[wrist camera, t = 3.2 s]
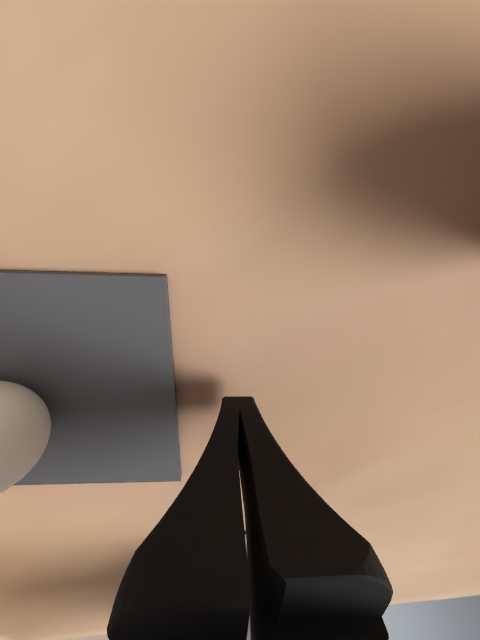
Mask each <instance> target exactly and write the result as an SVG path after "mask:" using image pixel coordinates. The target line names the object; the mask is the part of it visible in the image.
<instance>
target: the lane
mask: <svg viewBox="0 0 480 640" xmlns="http://www.w3.org/2000/svg"><path fill="white" fill-rule="evenodd" d="M0 381H8V382H13V383H16V384H19V385H22V386H24V387H27V388H28V389H30V390H32V391H33V392H35V393H36V394H37V395H38V396H39V397H40V398H41V399H42V400H43V401H44V403H45V405H46V406H47V409H48V411H49V414H50V419H51V431H50V437H49V441H48V443H47V446H46V448H45V450H44V452H43V454H42V456H41V457H40V459H39V460H38V462H37V463H36V464H35V465H34V467H33V468H32V469H31V470H30V471H29V472H28V473H27V474H26V475H25V476H24V477H23V478H22V479H21V480H19V481H18V482H17V483H15V484H14V485H43V484H84V483H124V482H165V481H181V475H182V474H181V460H180V447H179V433H178V419H177V406H176V392H175V379H174V365H173V351H172V338H171V324H170V310H169V297H168V283H167V274H131V273H95V272H58V271H22V270H0Z"/></svg>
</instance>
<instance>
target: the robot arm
mask: <svg viewBox="0 0 480 640" xmlns="http://www.w3.org/2000/svg"><path fill="white" fill-rule="evenodd" d="M238 463H239V464H238ZM239 471H240V478H239ZM240 479H241V486H242V494H243V501H244V510H245V522H246V534H245V532H244V522H243V512H242V501H241V490H240ZM392 595H393V590H392V586H391V584H390V581H389V579H388V577H387V574H386V572H385V570H384V568H383V566H382V564H381V562H380V561H379V559H378V557H377V555H376V553H375V551H374V550H373V548H372V546H371V544H370V543H369V542H368V541H367V540H366V539H365V538H363V537H362V536H361V535H360V534H359V533H358V532H357V531H355V530H354V529H353V528H352V527H351V526H350V525H349V524H348V523H347V522H345V521H344V520H343V519H342V518H341V517H340V516H339V515H338V514H337V513H336V512H335V511H334V510H333V509H332V508H331V507H330V506H329V505H328V504H327V503H326V502H325V501H324V500H323V499H322V498H321V497H320V496H319V495H318V494H317V492H316V491H315V490H314V489H313V488H312V487H311V486H310V485H309V484H308V483H307V482H306V480H305V479H304V478H303V477H302V476H301V474H300V473H299V472H298V471H297V469H296V468H295V467H294V466H293V464H292V463H291V462H290V460H289V459H288V458H287V456H286V455H285V454H284V452H283V451H282V449H281V448H280V446H279V445H278V443H277V442H276V440H275V439H274V437H273V435H272V434H271V432H270V430H269V429H268V427H267V425H266V424H265V422H264V420H263V418H262V416H261V414H260V412H259V410H258V408H257V406H256V403H255V401H254V398H253V397H224V398H222V404H221V409H220V413H219V416H218V419H217V422H216V425H215V427H214V430H213V433H212V435H211V437H210V439H209V442H208V444H207V446H206V448H205V450H204V452H203V454H202V456H201V458H200V460H199V462H198V464H197V466H196V467H195V469H194V471H193V473H192V474H191V476H190V478H189V479H188V481H187V482H186V484H185V486H184V487H183V489H182V490H181V492H180V493H179V495H178V496H177V498H176V499H175V501H174V502H173V503H172V505H171V506H170V508H169V509H168V510H167V512H166V513H165V515H164V516H163V517H162V519H161V520H160V521H159V523H158V524H157V525H156V526H155V528H154V529H153V530H152V531H151V533H150V534H149V535H148V536H147V538H146V539H145V540H144V541H143V542H142V544H141V545H140V546H139V547H138V549H137V550H136V551H135V553H134V555H133V557H132V559H131V561H130V564H129V566H128V568H127V570H126V572H125V574H124V577H123V579H122V581H121V584H120V587H119V589H118V592H117V595H116V598H115V601H114V605H113V608H112V612H111V616H110V619H109V623H108V626H107V635H108V638H109V640H388V639H389V636H388V632H387V629H386V627H385V624H384V622H383V619H382V615H383V614H384V612H385V610H386V608H387V607H388V605H389V603H390V601H391V598H392Z"/></svg>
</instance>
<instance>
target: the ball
mask: <svg viewBox="0 0 480 640" xmlns="http://www.w3.org/2000/svg"><path fill="white" fill-rule="evenodd" d="M50 431H51V419H50V414H49V411H48V409H47V406H46V405H45V403H44V401H43V400H42V399H41V398H40V397H39V396H38V395H37V394H36V393H35V392H33V391H32V390H30V389H28V388H27V387H24V386H22V385H19V384H16V383H13V382H8V381H0V493H2V492H3V491H5V490H7V489H8V488H10V487H11V486H13V485H14V484H15V483H17V482H18V481H19V480H21V479H22V478H23V477H24V476H25V475H26V474H27V473H28V472H29V471H30V470H31V469H32V468H33V467H34V465H35V464H36V463H37V462H38V460H39V459H40V457H41V456H42V454H43V452H44V450H45V448H46V446H47V443H48V441H49V437H50Z"/></svg>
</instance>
